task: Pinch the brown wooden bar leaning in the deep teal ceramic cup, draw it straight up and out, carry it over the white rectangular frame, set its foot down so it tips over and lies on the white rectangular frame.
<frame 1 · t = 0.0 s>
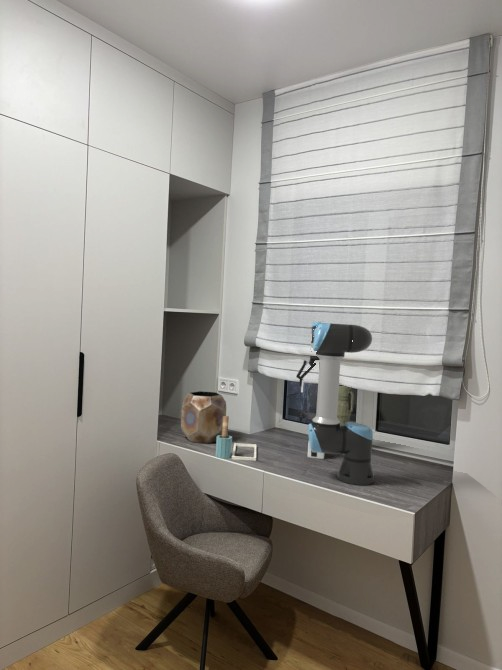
hand: (315, 392, 265), 28 cm above the table, fingers open, 13 cm apart
planter: (202, 439, 270), on the table
cup: (223, 458, 237), on the table
container: (316, 456, 249), on the table
brown wooden bar: (223, 456, 236), point 1 cm above the table, touching cup
white rectangular frame: (244, 454, 244), on the table
thermos: (339, 448, 266), on the table
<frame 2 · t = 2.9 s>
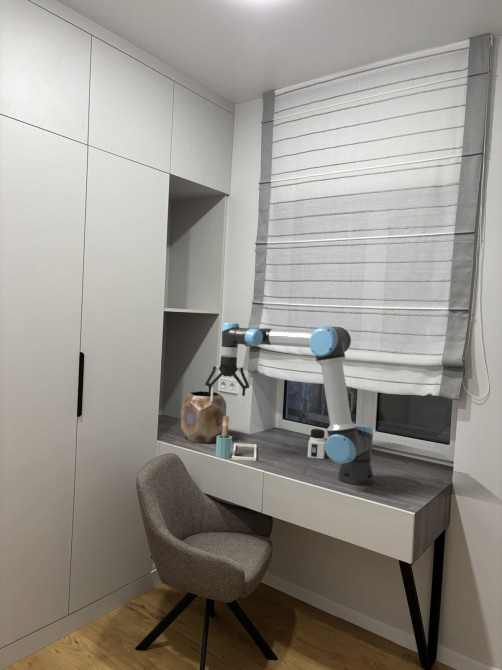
hand: (226, 402, 238), 26 cm above the table, fingers open, 13 cm apart
nothing on the table moved.
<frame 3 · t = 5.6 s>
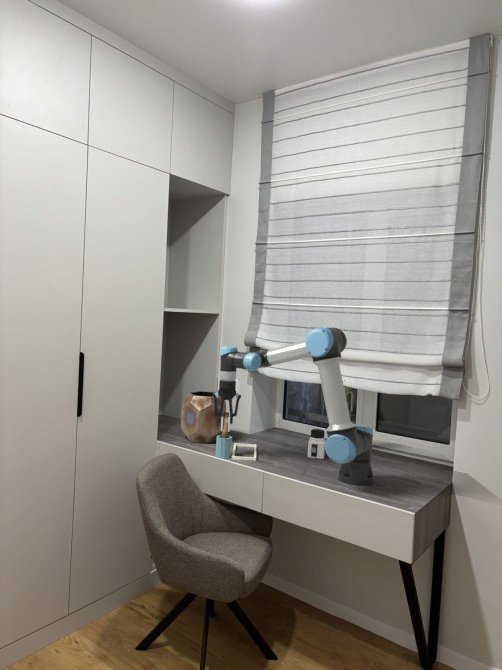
hand: (225, 430, 238), 12 cm above the table, fingers closed on brown wooden bar, 2 cm apart
brown wooden bar: (223, 452, 235), point 3 cm above the table, touching gripper
everything else where it was.
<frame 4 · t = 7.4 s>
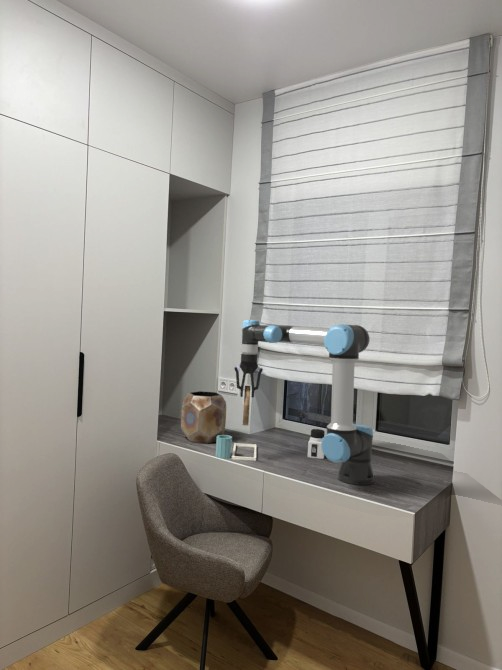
hand: (246, 404, 238), 25 cm above the table, fingers closed on brown wooden bar, 2 cm apart
brown wooden bar: (245, 425, 236), point 16 cm above the table, touching gripper
everything else where it was.
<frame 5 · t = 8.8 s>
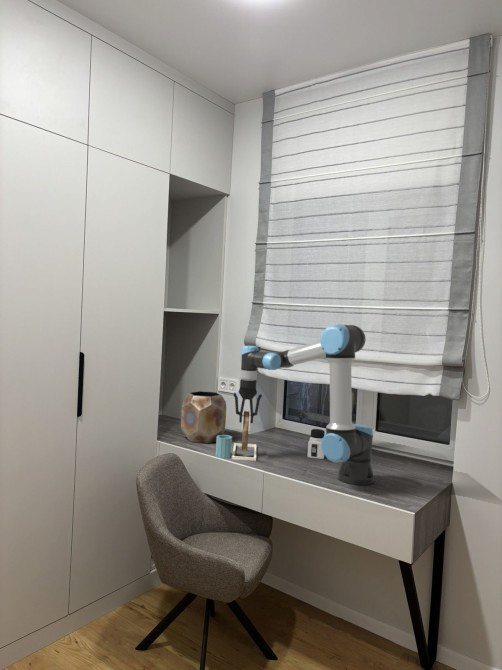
hand: (245, 429, 239), 13 cm above the table, fingers closed on brown wooden bar, 2 cm apart
brown wooden bar: (244, 451, 236), point 4 cm above the table, touching gripper
everything else where it was.
when the fingers open (11 cm above the table, at t = 9.8 s): brown wooden bar moves 1 cm and tips over, resting on white rectangular frame.
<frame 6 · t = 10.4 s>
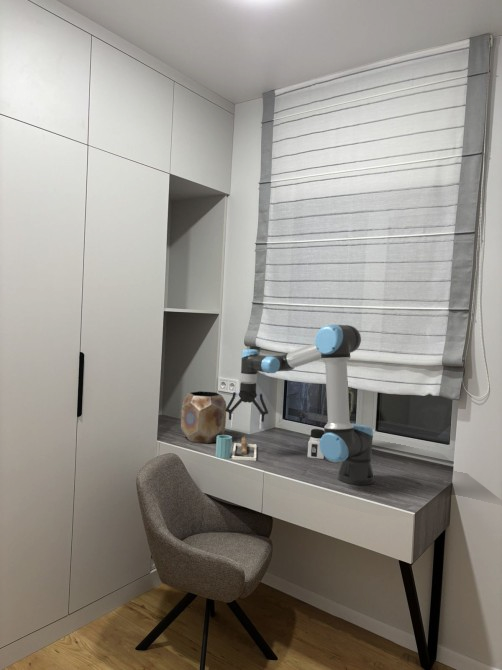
hand: (245, 427, 242), 13 cm above the table, fingers open, 13 cm apart
brown wooden bar: (244, 452, 241), point 2 cm above the table, tilted 73°, touching white rectangular frame
everything else where it was.
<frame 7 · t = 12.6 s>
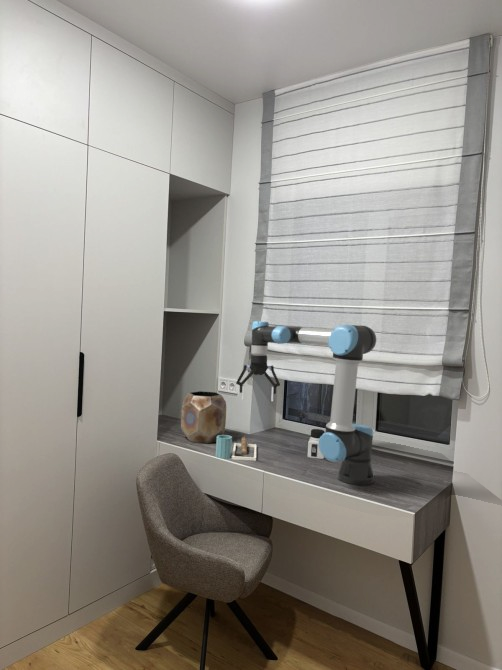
hand: (257, 400, 239), 27 cm above the table, fingers open, 13 cm apart
nothing on the table moved.
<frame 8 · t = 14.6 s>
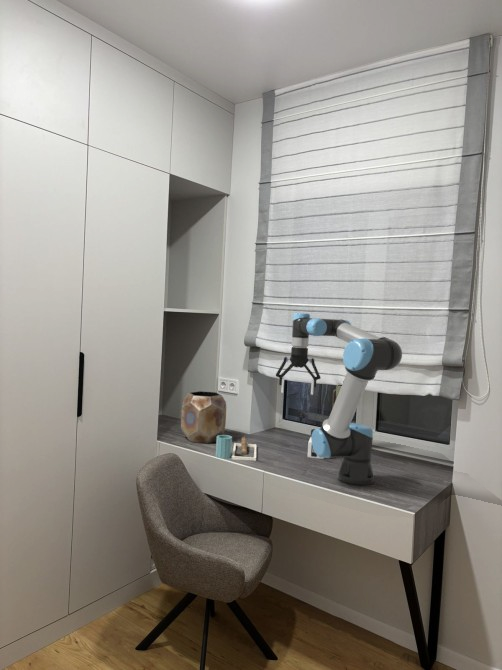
hand: (297, 393, 236), 32 cm above the table, fingers open, 13 cm apart
nothing on the table moved.
at the end: brown wooden bar inside the target area (3.5 cm from its centre), point 2.0 cm above the table; brown wooden bar tilted 73°; the gripper is holding nothing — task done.
